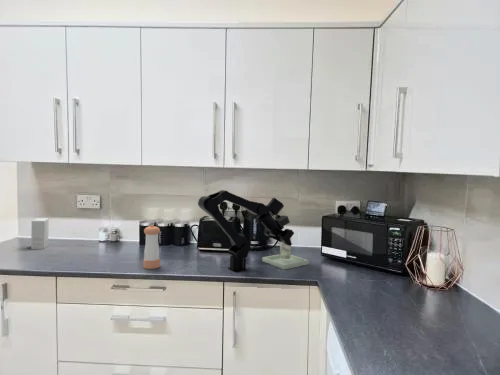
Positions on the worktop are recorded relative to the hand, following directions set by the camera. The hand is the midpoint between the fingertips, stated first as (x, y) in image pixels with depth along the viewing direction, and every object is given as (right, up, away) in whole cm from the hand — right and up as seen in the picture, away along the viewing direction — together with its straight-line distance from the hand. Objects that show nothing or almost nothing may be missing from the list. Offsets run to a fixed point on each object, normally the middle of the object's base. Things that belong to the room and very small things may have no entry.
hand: (287, 243), depth 163 cm
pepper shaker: (-63, -9, -11) cm, 65 cm away
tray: (-1, -9, 0) cm, 9 cm away
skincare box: (-133, -5, +18) cm, 134 cm away
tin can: (-1, -7, 0) cm, 7 cm away
